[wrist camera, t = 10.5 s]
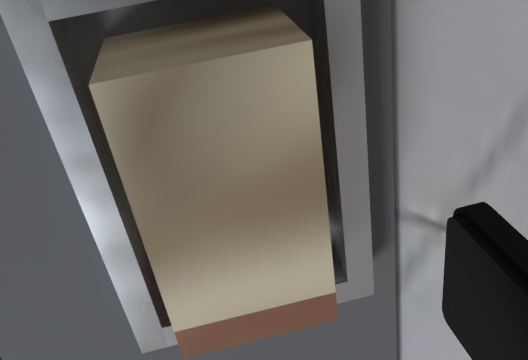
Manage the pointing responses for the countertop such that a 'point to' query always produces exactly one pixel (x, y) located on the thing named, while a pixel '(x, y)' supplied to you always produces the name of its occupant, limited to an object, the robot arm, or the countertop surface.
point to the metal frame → (106, 180)
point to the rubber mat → (83, 243)
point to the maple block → (223, 172)
